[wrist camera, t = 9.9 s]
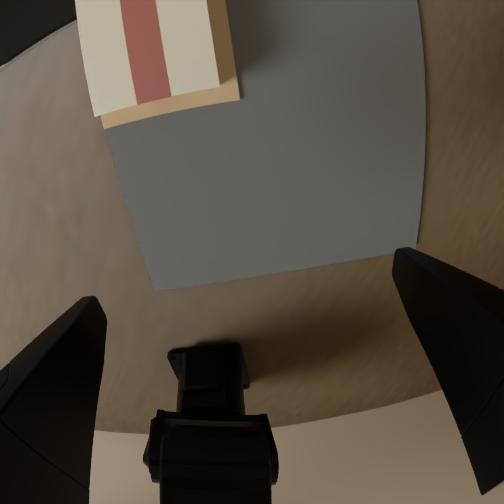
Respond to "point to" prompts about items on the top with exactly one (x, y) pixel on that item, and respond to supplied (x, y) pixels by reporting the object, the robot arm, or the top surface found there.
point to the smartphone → (31, 25)
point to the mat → (281, 144)
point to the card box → (145, 50)
